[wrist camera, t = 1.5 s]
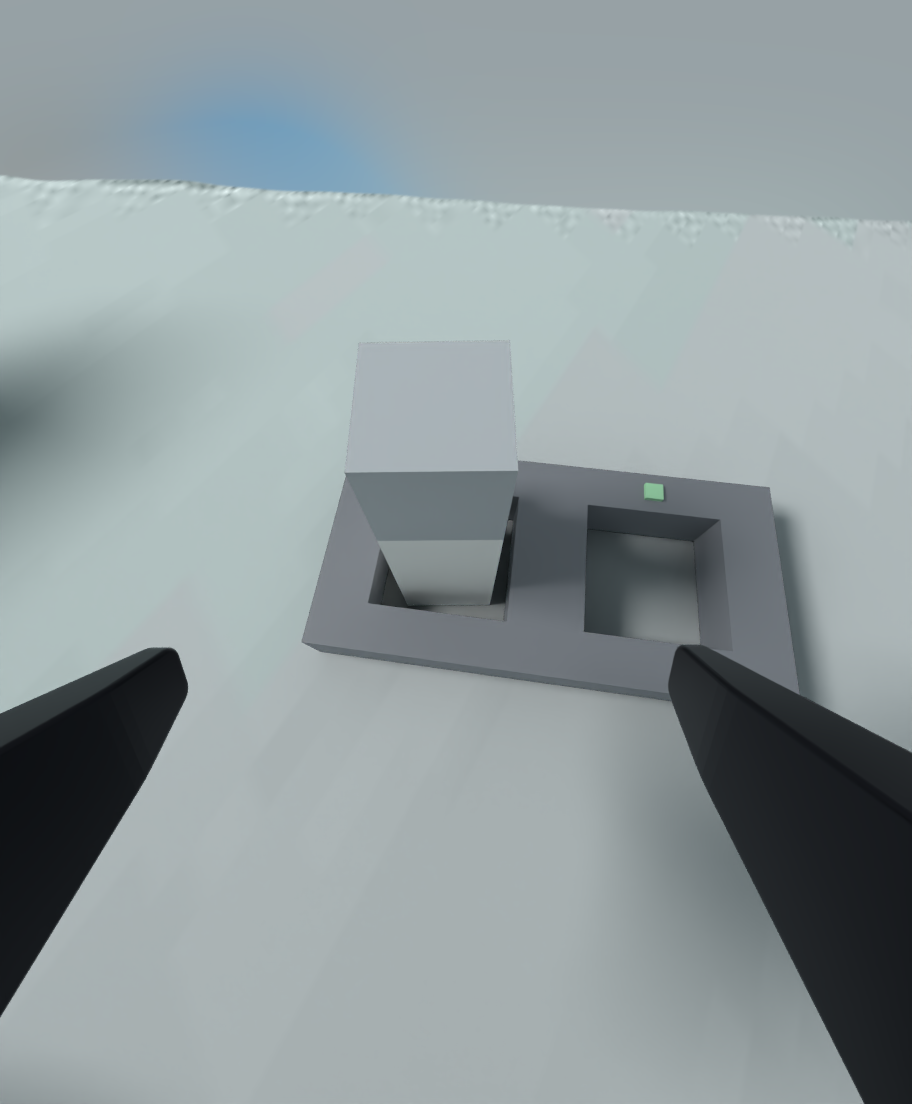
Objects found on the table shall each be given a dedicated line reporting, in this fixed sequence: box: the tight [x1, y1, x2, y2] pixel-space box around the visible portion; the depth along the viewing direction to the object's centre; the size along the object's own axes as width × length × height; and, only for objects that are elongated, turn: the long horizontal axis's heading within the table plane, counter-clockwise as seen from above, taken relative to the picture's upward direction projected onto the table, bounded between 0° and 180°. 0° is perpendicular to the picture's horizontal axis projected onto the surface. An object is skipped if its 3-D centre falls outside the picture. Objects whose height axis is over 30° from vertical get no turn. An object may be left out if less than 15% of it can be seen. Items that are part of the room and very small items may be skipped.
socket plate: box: [302, 461, 800, 701], centre depth 20 cm, size 10×20×3 cm, turn 82°
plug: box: [345, 340, 518, 605], centre depth 16 cm, size 5×4×12 cm
